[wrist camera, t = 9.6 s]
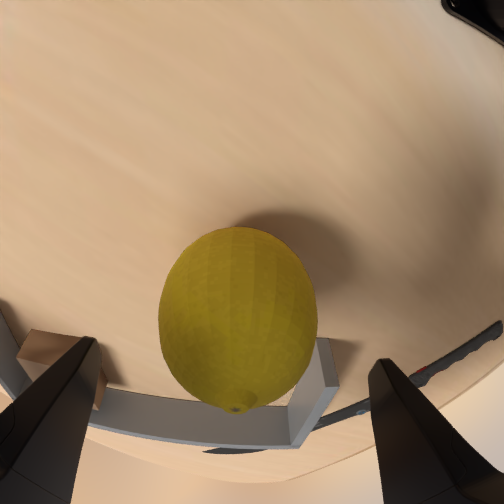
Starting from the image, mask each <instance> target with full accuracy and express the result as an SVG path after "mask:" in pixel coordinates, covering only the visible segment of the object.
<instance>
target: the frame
mask: <svg viewBox="0 0 504 504" xmlns="http://www.w3.org/2000/svg"><path fill="white" fill-rule="evenodd" d="M19 351H20V348H19V346H18V344H17V343H16V341H15V339H14V337H13V335H12V333H11V331H10V329H9V327H8V325H7V323H6V321H5V319H4V317H3V315H2V313H1V311H0V384H1V385H2V386H3V388H4V389H5V390H6V392H7V393H8V394H9V395H10V397H11V398H12V399H13V400H15V399H16V398H17V397H18V396H19V395H20V394H21V393H22V392H23V391H24V390H26V389H27V388H28V387H29V386H30V385H31V384H32V383H33V381H32V380H31V378H30V377H29V376H28V374H27V373H26V371H25V370H24V369H23V367H22V366H21V364H20V363H19V361H18V360H17V358H16V356H17V354H18V352H19ZM339 387H340V386H339V382H338V377H337V373H336V368H335V364H334V360H333V355H332V351H331V347H330V343H329V339H328V338H316V341H315V346H314V350H313V354H312V358H311V361H310V363H309V366H308V368H307V369H306V371H305V373H304V374H303V376H302V377H301V378H300V380H299V381H298V383H297V385H296V388H295V390H294V392H293V394H292V397H291V399H290V401H289V404H288V406H262V407H258V408H255V409H249V410H248V411H247V412H246V413H243V414H230V413H227V412H225V411H224V410H223V409H222V408H218V407H214V406H212V405H209V404H207V403H205V402H196V401H186V400H178V399H170V398H163V397H156V396H150V395H143V394H137V393H132V392H126V391H121V390H116V389H111V388H105V392H104V395H103V398H102V402H101V405H100V409H99V410H94V409H92V412H91V415H90V419H89V423H88V426H91V427H94V428H98V429H103V430H107V431H111V432H115V433H120V434H125V435H130V436H135V437H140V438H146V439H152V440H158V441H164V442H171V443H179V444H187V445H196V446H207V447H220V448H237V449H299V448H300V446H301V445H302V444H303V442H304V441H305V439H306V438H307V436H308V435H309V434H310V432H311V431H312V429H313V428H314V426H315V425H316V423H317V422H318V420H319V419H320V417H321V416H322V414H323V413H324V411H325V409H326V408H327V406H328V405H329V403H330V402H331V400H332V398H333V397H334V395H335V394H336V392H337V390H338V389H339Z"/></svg>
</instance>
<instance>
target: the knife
mask: <svg viewBox="0 0 504 504" xmlns="http://www.w3.org/2000/svg"><path fill="white" fill-rule="evenodd" d="M502 333H503V324H502V322H501V321H498V322H496V323H494V324H493V325H491V326H490V327H489V328H487V329H486V330H484V331H483V332H481V333H480V334H478V335H477V336H476V337H474V338H472V339H471V340H469V341H468V342H466V343H465V344H463V345H462V346H460V347H459V348H457V349H455V350H454V351H452V352H450V353H449V354H447V355H445V356H444V357H442V358H440V359H439V360H437V361H435V362H434V363H432V364H430V365H428V366H425V367H423V368H422V369H420V370H418V371H417V372H416V373H414V374H412V375H410V376H409V377H408V378H409V379H410V380H411V381H412V382H413V384H414V385H415V386H416V387H417V388H419V387H423V386H425V385H426V384H427V382H428V381H429V379H430V378H431V377H432V376H434V375H435V374H436V373H438V372H440V371H443V370H445V369H447V368H448V367H449V366H450V365H452V364H453V363H455V362H456V361H459V360H462V359H464V358H465V357H466V356H467V355H468V354H469V353H471V352H473V351H476V350H478V349H479V348H480V347H481V346H482V345H483V344H484V343H486V342H488V341H490V340H496V339H497V338H498V337H500V336H501V334H502ZM368 411H371V410H370V397H369V398H367V399H364V400H362V401H360V402H357V403H355V404H353V405H350V406H348V407H346V408H343V409H341V410H338V411H336V412H333V413H331V414H328V415H326V416H323V417H320V419H319V420H318V422H317V423H316V425H315V426H314V428H313V429H312V431H315V430H317V429H320V428H322V427H325V426H328V425H331V424H333V423H336V422H339V421H342V420H344V419H347V418H350V417H353V416H356V415H362V414H364V413H366V412H368ZM312 431H311V432H312ZM263 450H267V449H237V448H216V449H212V450H207V451H202V452H205V453H213V454H243V453H253V452H259V451H263Z"/></svg>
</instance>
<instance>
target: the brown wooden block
mask: <svg viewBox="0 0 504 504" xmlns="http://www.w3.org/2000/svg"><path fill="white" fill-rule="evenodd" d="M81 338H82V337H75V336H68V335H62V334H56V333H50V332H44V331H38V330H33V329H31V331H30V332H29V334H28V336H27V338H26V339H25V341H24V343H23V345H22V347H21V349H20V351H19V352H18V354H17V356H16V358H17V360H18V361H19V363H20V364H21V366H22V367H23V369H24V370H25V371H26V373H27V374H28V376H29V377H30V378H31V380H32V381H33V382H34V381H35V380H36V379H37V378H38V377H39V376H40V375H41V374H42V373H44V372H45V371H46V370H47V369H48V368H49V367H50V366H51V365H52V364H53V363H54V362H55V361H56V360H58V359H59V358H60V357H61V356H62V355H63V354H64V353H65V352H66V351H67V350H69V349H70V348H71V347H72V346H73V345H74V344H75V343H76V342H77V341H79V340H80V339H81ZM107 382H108V380H107V378H106V376H105V374H104V372H103V370H102V368H101V367H100V372H99V377H98V383H97V389H96V395H95V400H94V404H93V408H92V409H94V410H99V409H100V405H101V402H102V398H103V395H104V392H105V388H106V385H107Z"/></svg>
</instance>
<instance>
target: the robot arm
mask: <svg viewBox="0 0 504 504" xmlns="http://www.w3.org/2000/svg"><path fill="white" fill-rule="evenodd" d="M453 2H454V4H455V7H454V6H452V4H451V1H450V0H441V3H442V5H443V7H444V8H445V10H446V11H448V12H449V13H451V14H453V15H455V16H456V17H458V18H460V19H462V20H464V21H466V22H467V23H469V24H471V25H472V26H474V27H476V28H477V29H479V30H481V31H482V32H484V33H486V34H487V35H489V36H490V37H492V38H493V39H495V40H496V41H498V42H499V43H501V44H502V45H504V0H453ZM101 362H102V354H101V351H100V348H99V345H98V342H97V340H96V339H95V338H93V337H88V336H84V337H82V338H81V339H80V340H79V341H77V342H76V343H75V344H74V345H73V346H72V347H71V348H70V349H69V350H67V351H66V352H65V353H64V354H63V355H62V356H61V357H60V358H59V359H58V360H56V361H55V362H54V363H53V364H52V365H51V366H50V367H49V368H48V369H47V370H46V371H45V372H44V373H42V374H41V375H40V376H39V377H38V378H37V379H36V380H35V381H34V382H33V383H32V384H31V385H30V386H29V387H28V388H27V389H26V390H24V391H23V392H22V393H21V394H20V395H19V396H18V397H17V398H16V399H15V400H14V401H13V403H11V404H10V405H9V406H8V407H7V408H6V409H5V410H4V411H3V412H2V413H0V504H70V503H71V498H72V493H73V488H74V482H75V478H76V473H77V468H78V463H79V459H80V455H81V450H82V446H83V442H84V438H85V434H86V430H87V426H88V423H89V419H90V415H91V412H92V408H93V404H94V400H95V395H96V389H97V383H98V377H99V372H100V367H101ZM368 384H369V396H370V410H371V420H372V426H373V432H374V438H375V444H376V450H377V456H378V463H379V470H380V477H381V484H382V492H383V501H384V504H504V473H502V472H500V471H498V470H497V469H496V468H494V467H493V466H492V465H491V464H490V463H489V462H488V461H487V460H486V459H484V457H482V456H481V455H480V454H479V453H478V452H477V451H476V450H475V449H474V448H473V447H472V446H471V445H470V444H469V443H468V442H467V441H466V440H465V439H464V438H463V437H462V436H461V435H460V434H459V433H458V432H457V431H456V429H455V428H453V426H452V425H451V424H450V423H449V422H448V421H447V420H446V418H445V417H444V416H443V415H442V414H441V413H440V412H439V411H438V410H437V409H436V407H435V406H434V405H433V404H432V403H431V402H430V401H429V400H428V399H427V398H426V397H425V395H424V394H423V393H422V392H421V391H420V390H419V389H418V388H417V387H416V386H415V385H414V384H413V382H412V381H411V380H410V379H409V378H408V377H407V376H406V375H405V374H404V373H403V372H402V371H401V370H400V369H399V367H398V366H397V365H396V364H395V363H394V362H393V361H392V360H391V359H389V358H383V359H378V360H377V361H376V363H375V364H374V366H373V368H372V369H371V371H370V372H369V375H368Z"/></svg>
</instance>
